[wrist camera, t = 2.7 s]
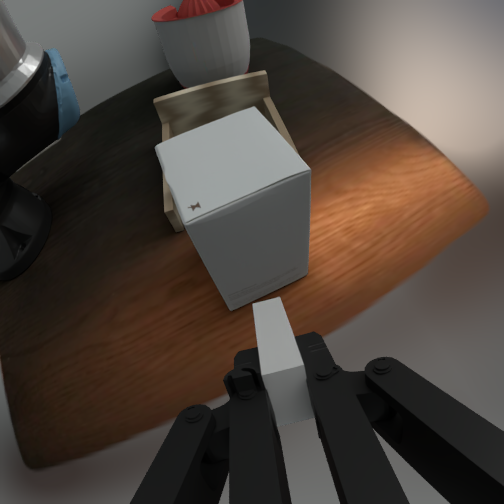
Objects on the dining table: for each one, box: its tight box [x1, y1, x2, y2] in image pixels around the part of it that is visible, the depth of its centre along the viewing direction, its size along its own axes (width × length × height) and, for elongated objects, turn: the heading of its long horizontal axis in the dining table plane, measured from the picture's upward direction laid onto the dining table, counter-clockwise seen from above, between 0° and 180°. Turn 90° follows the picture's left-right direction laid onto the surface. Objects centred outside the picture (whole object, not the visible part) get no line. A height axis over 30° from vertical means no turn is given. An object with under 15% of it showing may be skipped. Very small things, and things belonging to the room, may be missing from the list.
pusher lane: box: [154, 70, 299, 232], centre depth 38 cm, size 16×18×8 cm
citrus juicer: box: [152, 0, 250, 89], centre depth 46 cm, size 16×17×20 cm
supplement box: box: [155, 107, 311, 311], centre depth 27 cm, size 9×9×15 cm
